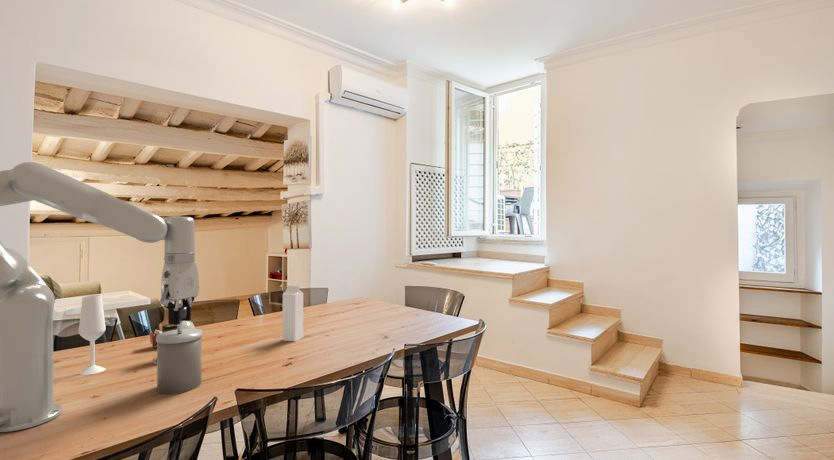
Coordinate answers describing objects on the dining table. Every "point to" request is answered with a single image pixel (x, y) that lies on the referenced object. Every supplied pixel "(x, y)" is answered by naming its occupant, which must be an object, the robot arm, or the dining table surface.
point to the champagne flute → (92, 327)
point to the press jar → (178, 361)
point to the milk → (292, 314)
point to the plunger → (183, 315)
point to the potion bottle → (153, 335)
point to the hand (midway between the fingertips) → (179, 321)
